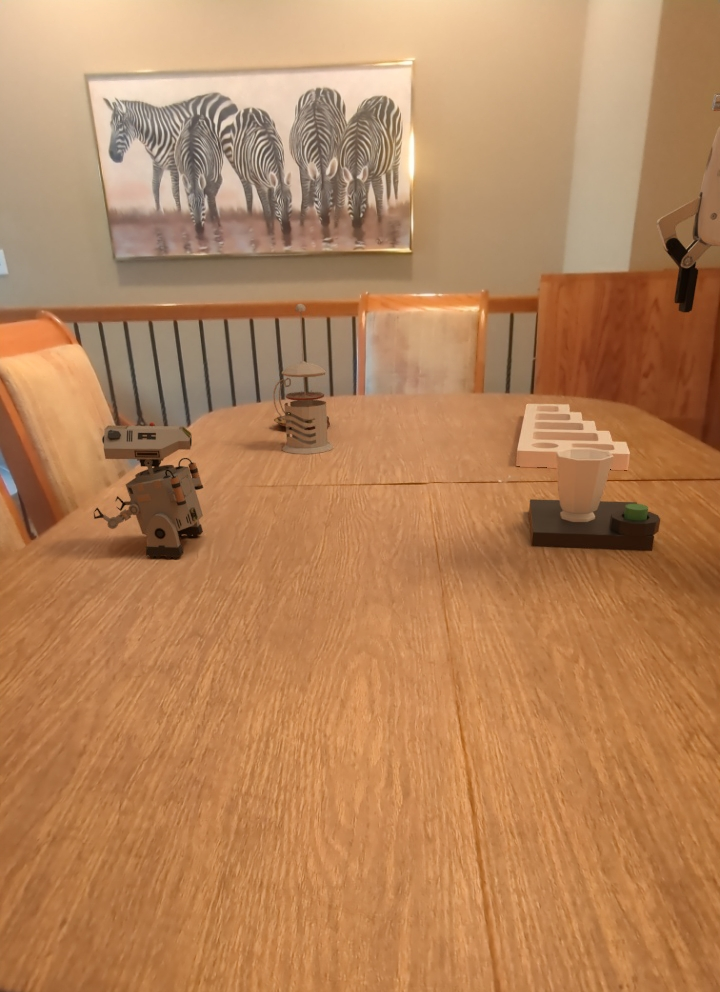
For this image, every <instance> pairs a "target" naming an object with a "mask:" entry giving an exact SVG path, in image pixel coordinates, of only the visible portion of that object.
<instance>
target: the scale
mask: <svg viewBox="0 0 720 992" xmlns="http://www.w3.org/2000/svg"><path fill="white" fill-rule="evenodd" d="M628 504H638V502H636V501H608V500H607V501H606V500H605V501H604V500H603V501H602V500H601V501H600V503H599V506H598V508H597V510H596V511H594V512H593V513H594V515H595V519H594V520H591V521H588V522H572V521H568V520H564V519H562V518H561V516H560V512H562V511H563V510H562V508H561V506H560V500H559V499H536V498H535V499H533V498H532V499H531V498H529V507H528V518H529V531H530V542H531V543H530V544H531V547H533V548H535V547H536V548H537V547H538V548H539V547H540V548H560V549H561V548H564V549H590V550H592V549H593V550H613V551H614V550H616V551H617V550H619V551H643V552H644V551H645V552H652V551H653V546H654V540H655V535H656V534H657V533H659V530H660V524H661V517H660V515H659V514H656V513H654V512H651V511H648V514H647V520H642V521H641V520H630V519H625V518H624V513H625V506H626V505H628Z"/></svg>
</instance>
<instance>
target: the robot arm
mask: <svg viewBox="0 0 720 992" xmlns="http://www.w3.org/2000/svg"><path fill="white" fill-rule="evenodd" d="M711 112H720V93H714V95H713V98H712V104H711ZM714 135H715V136H714V138H713V141H712V144H711V147H710V150H709V153H708V156H707V157H708V158H707V161H706V163H705V168H704V173H703V175H702V176H703V177H702V181H701V185H700V190H699V193H698V196H697V197H695V198H694V199H692V200H691V201H688V202H687V203H685V204H683V205H681V206H680V207H678V208H676V209H674V210H672V211H671V212H669V213H667V214H665V215H663V216H661V217H660V218H658V219H657V220H656V228H657V230H658V234H659V237H660V240H661V242H662V245H663V249H664V251H665V252H666V253H667V255H668V256H669V257H670V259H672V261H673V262H674V263H675V265H676V267H677V268H678V272H677V273H678V274H677V278H676V279H677V280H676V286H675V293H674V299H673V300H674V304H678V311H679V312H681V313H690V312H692V311H693V306H694V300H695V294H696V288H697V283H698V282H697V281H698V275H699V269H698V268H697V267H696V265H697V261H698V260H699V259H700V258H701V257H702V256H703V255H704V254H705V253H706V252H707V251H708V250H709V248H710V247H720V125H719V126H718V127H717V129H716V132H715V134H714ZM693 216H694V217H693ZM692 217H693V225H692V241H691V242H690V244H688V246H687V247H685V246H684V245H683V243H682V242H681V241H680V239H678V235H677V232H676V229H677V228H676V227H677V226H678V225H679V224H680V223H682V222H684V221H686V220H688V219H690V218H692Z"/></svg>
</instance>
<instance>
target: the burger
mask: <svg viewBox="0 0 720 992" xmlns="http://www.w3.org/2000/svg"><path fill="white" fill-rule="evenodd" d="M310 391H311V392H313V390H310ZM296 401H298V400H296ZM312 406H313V405H312ZM312 406H307V407H312ZM288 415H289V416H291V413H290V412H288ZM281 416H283V417H284V418H285V414H284V415H281ZM281 416H280V415H279V416H278V417H276V418H274V419H273V421H274V422H275V423H276V424H278V425H279V426H281V427H285V428H286V421H285V419H283V418H282V417H281ZM302 419H303V418H302ZM312 422H315V420H308V421H306V422H304V423H312ZM289 423H291V420H290V419H289ZM328 426H331V424H330V417H329V416H328V415H327V427H328ZM290 428H291V429H292V427H289V429H290ZM313 429H315V427H314V426H313V427H308V428H306V430H313Z"/></svg>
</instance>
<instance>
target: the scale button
mask: <svg viewBox="0 0 720 992" xmlns="http://www.w3.org/2000/svg"><path fill="white" fill-rule="evenodd" d="M648 512H649V506H648V505H645V504H641V503H637V504H628V505H626V506H625V513H624V518H625V519H630V520H641V521H642V520H647V514H648Z"/></svg>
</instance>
